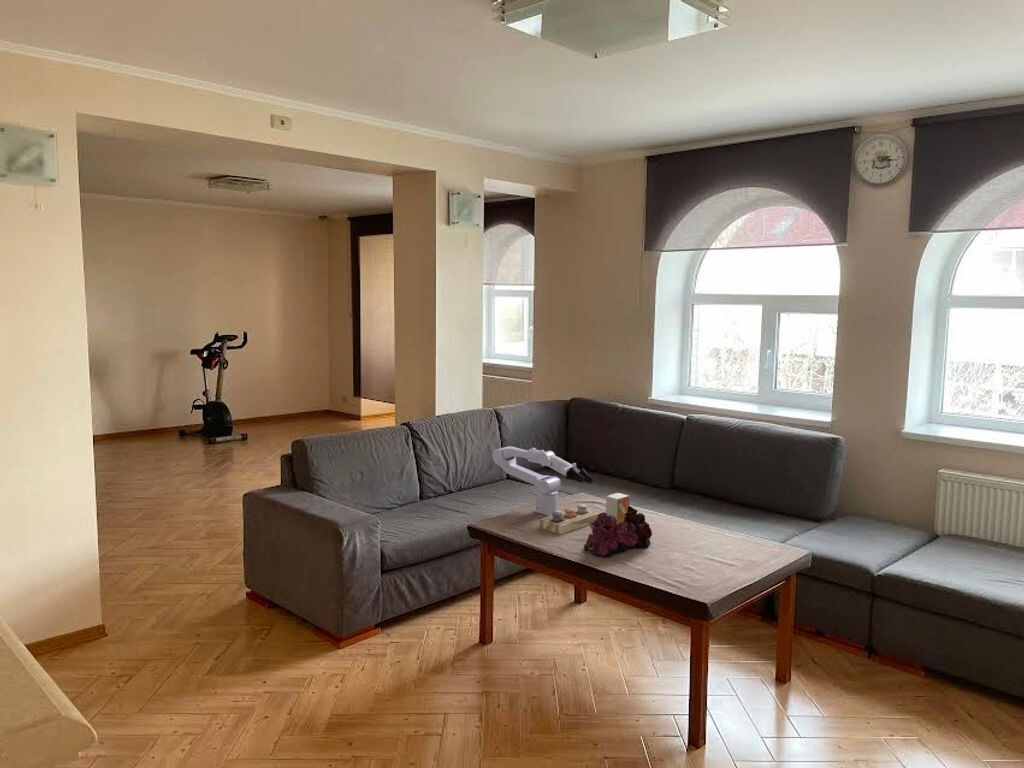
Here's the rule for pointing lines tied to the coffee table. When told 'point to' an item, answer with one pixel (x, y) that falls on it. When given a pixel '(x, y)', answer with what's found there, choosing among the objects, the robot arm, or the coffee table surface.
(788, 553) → the coffee table surface
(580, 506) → the knob
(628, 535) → the flower arrangement
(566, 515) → the plunger terracotta
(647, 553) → the coffee table surface
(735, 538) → the coffee table surface
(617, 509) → the small box
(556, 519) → the plunger charcoal
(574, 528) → the button board
